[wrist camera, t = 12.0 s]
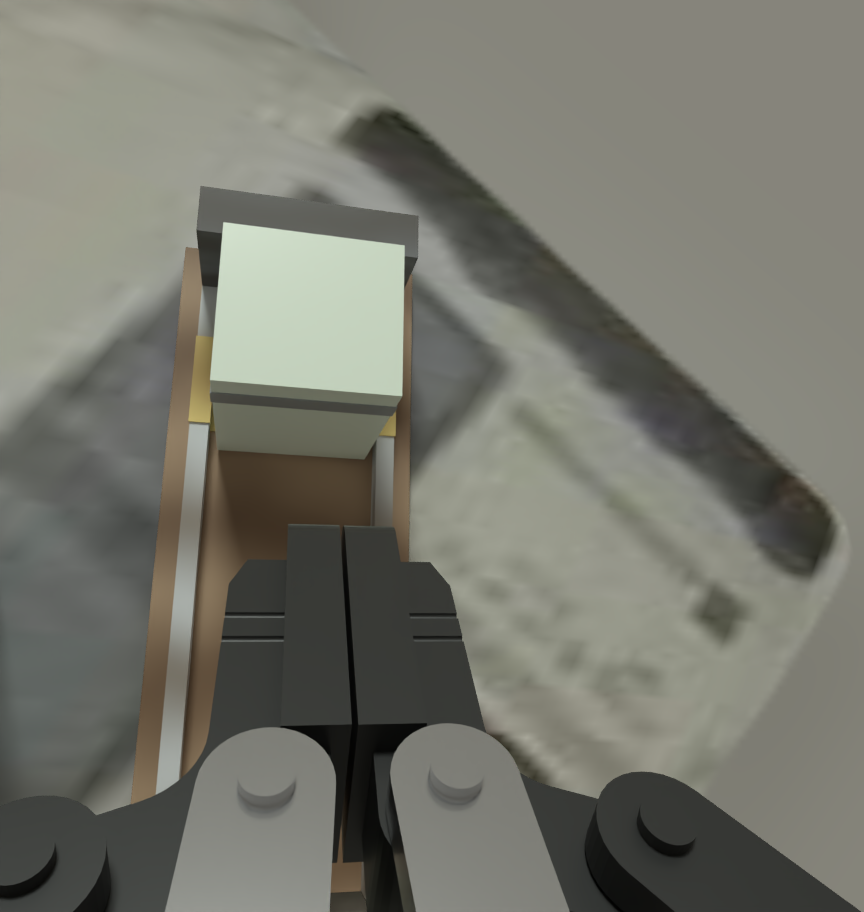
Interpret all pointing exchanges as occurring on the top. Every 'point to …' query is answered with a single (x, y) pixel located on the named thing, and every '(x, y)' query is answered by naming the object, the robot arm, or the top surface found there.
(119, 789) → the top surface
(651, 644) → the top surface
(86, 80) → the top surface
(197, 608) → the rail base
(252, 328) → the sliding block
